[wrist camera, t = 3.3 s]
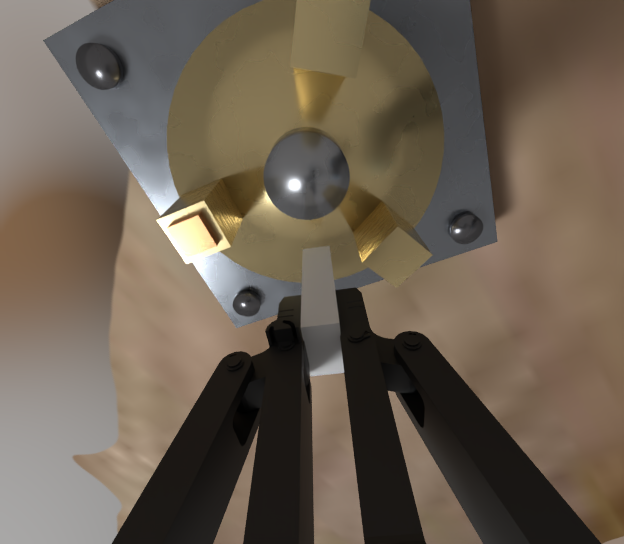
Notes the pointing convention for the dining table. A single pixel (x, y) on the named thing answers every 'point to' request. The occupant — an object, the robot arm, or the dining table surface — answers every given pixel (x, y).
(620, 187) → the dining table surface
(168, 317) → the dining table surface
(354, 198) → the three-jaw lathe chuck
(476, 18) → the dining table surface
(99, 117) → the plate
